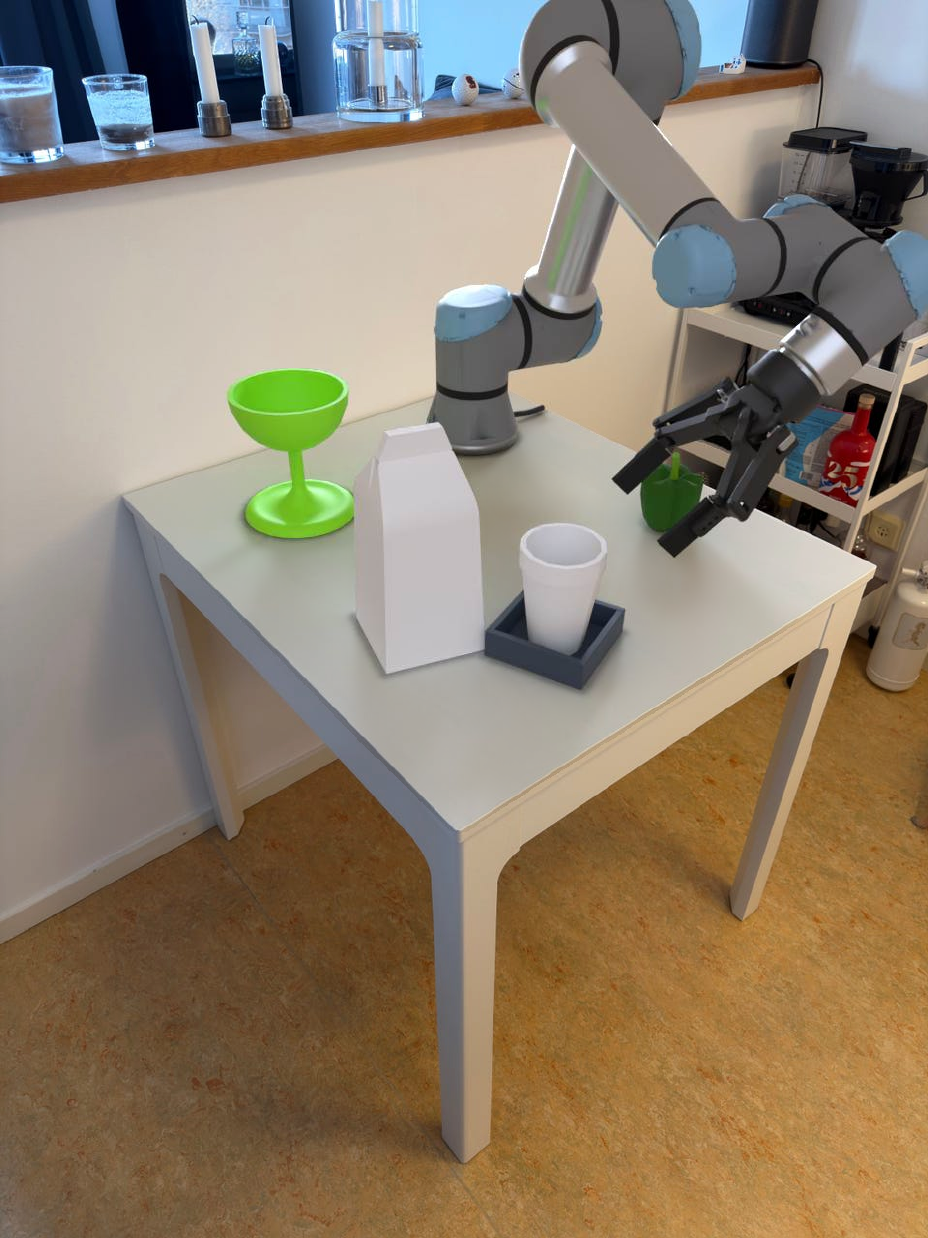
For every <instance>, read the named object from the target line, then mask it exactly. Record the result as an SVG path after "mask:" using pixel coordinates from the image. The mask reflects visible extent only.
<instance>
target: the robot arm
mask: <svg viewBox="0 0 928 1238" xmlns="http://www.w3.org/2000/svg"><path fill="white" fill-rule="evenodd" d="M702 44H703V43H702V34H701V31H700V22H699V18H698V15H697V14H696V10H695V9H694V7H693V4H692V3H691V2H690V0H547V1H546V2H544V4H543V5H541V6H540V7H539V9H538V10H537V11H536V13H535V14H534V15H533V17H532V18H531V20H530V21H529V23H528V24H527V26H526V29H525V31H524V33H523V37H522V40H521V42H520V48H519V53H518V73H519V78H520V83H521V87H522V89H523V93H524V95H525V97H526V99H527V101H528V102H529V105H530V106H531V107H532V109H533V110H534V112H535V114H536V115H538V116H539V118H540V119H541V121H542V122H543V123H544V124H546V125H547V126H548V127H550V128H553V129H559V130H561V131H562V132H563V133H564V135H565V136H566V138H567V139H568V140H569V141H570V142H571V143H572V145H571V149H570V152H569V156H568V159H567V163H566V167H565V170H564V174H563V177H562V181H561V184H560V187H559V191H558V195H557V198H556V203H555V204H554V210H553V212H552V216H551V220H550V223H549V227H548V230H547V234H546V237H545V241H544V245H543V247H542V252H541V256H540V259H539V262H538V264H536V265H534V266H532V267H531V268H530V269H529V270H527V272H526V274H525V275H524V280H523V283H522V287H521V290H520V291H519V292H513V293H511V291H510V290H509V289H507V288H506V287H505V286H502V285H498V284H493V283H492V284H491V283H490V284H489V283H487V284H484V285H481V284H471V285H467V286H463V287H460V288H459V287H458V288H456V289H453V290H451V291H450V292H447V293H446V294H445V295H443V296H442V297H441V299H440V300H439V301H438V303H437V305H436V309H435V319H434V325H433V326H434V327H433V334H434V344H435V345H434V346H435V354H434V355H435V393H434V397H433V400H432V403H431V406H430V409H429V412H428V415H427V418H426V422H425V424H430V423H436V422H439V423H440V425H441V426H442V427H443V428H444V431H445V433H446V435H447V437H448V440H449V442H450V444H451V447H452V451H453V452H454V453H455V455H460V456H484V455H485V456H486V455H491V454H495V453H499V452H502V451H504V450H506V449H508V448H510V447H512V446H513V445H514V444H515V443H516V441H517V438H518V425H517V424H518V423H517V419H516V418H519V417H526V416H527V417H528V416H532V415H535V414H538V413H541V412H543V411H545V410H546V406H545V405H544V404H540V405H538V406H535V407H533V408H530V409H525V410H516V411H514V409H513V406H512V402H511V399H510V396H509V374H510V372H513V371H519V370H526V369H531V368H538V367H543V366H544V367H545V366H551V365H557V364H564V363H565V364H566V363H569V362H572V361H574V360H578V359H580V358H581V359H582V358H584V357H585V356H587V355H588V354H589V353H590V352H592V350H593V349H594V348H595V346H596V345H597V343H598V341H599V339H600V336H601V333H602V328H603V320H602V319H601V316H602V315H603V306H602V305H603V304H602V302H601V299H600V297H599V295H598V289H597V287H596V285H595V283H594V282H593V281H594V277H595V275H596V272H597V269H598V266H599V264H600V261H601V257H602V255H603V252H604V249H605V245H606V242H607V240H608V237H609V234H610V231H611V228H612V226H613V222H614V220H615V217H616V214H617V211H618V208H619V205H620V206H621V208H622V209H623V211H624V212H625V214H627V216H628V217H629V218H630V219H631V221H632V222H633V223H634V225H635V226H636V227H637V228H638V230H639V231H640V232H641V234H642V235H643V236H644V237H645V239H646V240H647V241H648V242H649V244H650V245H651V246H652V247H653V249H654V251H653V255H652V261H651V275H652V280H654V281H655V283H656V286H655V287H656V288H655V290H656V293H657V294H658V296H659V298H660V299H661V300H662V301H663V302H664V303H665V304H666V305H668V306H670V307H672V308H675V309H694V308H698V309H704V308H713V307H715V306H719V305H724V304H729V303H735V302H739V301H745V300H751V299H757V298H766V297H771V296H776V295H777V296H778V295H783V294H788V293H796V292H798V293H801V294H803V295H804V296H806V298H808V299H809V300H810V301H812V302H813V303H814V304H816V307H815V308H814V309H813V310H812V311H811V312H810V313H809V314H808V315H807V317H805V318H804V319H803V320H802V321H801V322H800V323H799V324H797V325H796V326H795V327H794V328H793V329H792V330H791V331H790V332H789V333H788V334H786V335H785V336H784V337H783V338H782V339H781V340H780V341H779V348H780V350H778V349H777V348H774V349H770V350H768V351H767V352H766V353H765V354H764V355H763V356H762V357H760V359H758V361H756V363H754V364H753V365H752V366H751V367H749V369H748V370H747V372H746V377H747V383H746V384H745V385H743V386H742V387H739V386H738V385H737V384H736V382H734V380H733V378H731V377H730V376H728V375H727V376H724V377H723V378H722V379H720V380H719V381H718V382H717V383H716V384H715V385H713V386H711V388H709V389H707V390H706V391H704V392H701V393H700V394H698V395H696V396H694V397H693V398H691V399H689V400H687V401H685V402H683V403H681V404H679V405H678V406H676V407H674V408H672V409H670V410H668V411H667V412H664V413H663V414H661V415H659V416H657V417H656V418H654V420H652V423H651V424H652V427H654V430H655V431H654V432H653V437H652V438H651V439H650V440H649V441H648V442H647V443H646V444H645V445H644V446H643V447H641V448H640V449H639V450H638V452H636V454H635V455H634V456H633V458H632V459H631V460H630V461H628V462H627V463H626V464H625V465H624V466H623V467H621V469H620V470H619V471H618V472H617V473H615V474H614V475H613V476H612V477H611V480H612V482H613V483H614V484H615V485H616V486H617V487H618V488H620V490H621V491H623V493H625V494H626V496H628V495H629V494H631V493H632V492H633V491H634V490H635V489H636V488H638V486H640V485H641V482H642V481H643V480H645V479H646V478H647V477H648V476H649V475H650V474H651V473H652V472H653V471H654V470H655V469H657V468H658V467H659V466H660V465H661V464H662V463H663V464H664V463H665V462H666V461H667V460H668V459H669V458H670V457H671V456H672V454H673V453H674V451H675V448H678V447H682V446H684V445H687V444H691V443H694V442H697V441H701V440H704V439H708V438H710V437H714V436H720V437H726V439H728V441H730V442H731V451H730V453H729V457H728V459H727V462H726V464H725V467H724V469H723V472H722V475H721V477H720V480H719V482H718V484H717V488H716V490H715V492H714V494H708V497H707V496H705V497H703V498H702V500H700V502H699V503H698V504H697V505H696V506H695V507H694V508H692V509H691V510H690V511H689V512H688V513H687V514H686V515H685V516H683V517H682V518H681V519H680V520H679V521H678V522H677V523H676V524H674V525H673V526H672V527H671V528H670V529H667V530H666V531H664V533H663V534H661V536H660V537H658V538H657V539H656V540H655V541H656V542H657V544H658V545H659V546H660V547H661V548H662V549H663V550H664V551H666V552H667V553H668V555H670V556H671V557H672V558H673V559H675V558H676V557H677V556H679V555H680V554H681V553H682V552H683V551H685V549H687V548H688V547H689V546H690V545H692V543H693V542H695V541H696V540H697V539H698V538H702V537H704V536H706V535H707V534H708V533H710V532H711V531H712V530H713V529H714V528H715V527H717V526H718V525H719V524H720V523H721V522H722V521H724V519H726V518H733V519H737V520H738V522H740V523H744V522H746V521H747V520H748V519H749V518H750V516H752V513H753V512H754V510H755V508H756V507H757V505H758V503H759V502H760V500H761V498H762V497H763V495H764V494H765V492H766V491H767V488H768V487H769V485H770V484H771V482H772V480H773V479H774V477H775V475H776V474H777V472H778V470H779V469H780V467H781V465H782V464H783V462H784V460H786V458H788V456H789V455H790V454H791V453H792V452H793V451H794V450H795V449H796V448H797V447H798V446H799V444H800V440H799V439H798V437H796V435H795V434H794V433H793V431H792V430H791V429H790V428H789V427H788V424H790V425H793V426H796V425H797V426H798V425H799V424H800V423H802V421H804V419H806V418H807V417H808V416H809V415H811V414H812V413H813V412H814V411H815V410H816V409H817V408H818V407H820V406H821V405H822V401H823V396H828V397H832V396H833V395H835V393H836V392H837V391H838V390H839V389H840V388H842V387H843V386H844V385H845V384H846V383H847V382H848V381H849V380H851V379H852V378H853V377H854V376H855V375H856V374H857V373H858V372H859V371H861V369H862V368H863V367H864V366H865V365H866V364H868V363H869V362H870V360H871V359H873V358H874V357H875V356H876V355H877V354H878V353H880V352H881V351H882V350H883V349H885V347H886V346H888V345H889V344H890V343H891V342H893V341H894V340H895V339H896V338H897V337H898V336H900V334H902V333H903V332H904V331H905V330H906V329H908V328H909V327H910V326H911V325H912V324H914V323H915V322H916V321H919V320H920V319H921V318H922V316H923V315H924V314H925V313H926V312H927V311H928V239H927V238H926V237H924V236H923V235H921V234H920V233H918V232H913V231H911V230H908V229H903V230H900V231H897V232H896V233H895V234H894V235H892V237H890V238H887V239H886V240H885V241H884V242H883V243H880V242H878V241H877V240H875V239H872V238H871V237H869V236H868V235H867V234H865V233H864V232H862V231H861V230H860V229H858V227H856V226H854V225H853V224H852V223H850V222H849V221H847V220H846V219H845V218H843V217H842V216H840V215H839V214H838V213H836V211H835V210H833V208H832V207H831V206H828V205H826V204H825V203H823V202H820V201H818V200H816V199H814V198H812V197H810V196H809V195H807V194H806V195H805V194H801V193H800V194H799V193H797V194H792V195H787V196H786V197H785V198H783V200H782V201H780V202H777V203H776V202H775V204H773V205H772V206H771V207H770V208H769V209H768V210H767V212H766V213H765V214H764V216H763V217H757V218H756V217H755V218H746V219H737V218H736V217H735V216H733V215H732V213H731V212H730V211H729V209H727V207H726V206H725V205H724V204H723V203H722V202H721V200H720V199H719V198H718V197H717V196H716V195H715V194H714V192H712V190H711V189H710V188H709V186H707V184H706V183H705V182H704V180H702V179H701V177H700V176H699V175H698V174H697V172H695V170H694V169H693V168H692V167H691V166H690V164H689V163H688V162H687V161H686V159H685V158H684V157H683V156H682V155H681V154H680V152H679V151H678V150H677V149H676V148H675V147H674V145H673V144H672V143H671V142H670V141H669V140H668V138H667V137H666V136H665V135H664V133H663V132H662V131H661V130H660V129H659V128H658V126H659V125H660V122H661V119H662V116H663V114H664V110H665V108H666V105H667V103H668V101H669V102H674V101H677V100H679V99H681V98H682V97H683V96H685V95H687V94H688V93H689V92H690V90H691V89H692V88H693V86H694V84H695V82H696V80H697V77H698V74H699V72H700V66H701V61H702V60H701V59H702V49H703V48H702V47H703V45H702Z"/></svg>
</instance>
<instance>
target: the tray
mask: <svg viewBox="0 0 928 1238" xmlns="http://www.w3.org/2000/svg"><path fill="white" fill-rule="evenodd" d="M625 614H626V608H624V607H621V606H618V605H615V604H612V603H608V602H606V601H602V600H600V599H596V598H595V601H594V605H593V609H592V612H591V616H590V619H589V623H588V626H587V630H586V634H585V637H584V641H583V642H582V646H581V647H580V649H579V650H578V651H577V652H575V653H573V654H571V655H566V654H563V653H561V652H558V651H555V650H552V649H549V648H546V647H543V646H540V645H538V644H535V643H532V642H529V639H528V631H527V620H526V609H525V599H524V588H523V589H522V590H521V591H520V592H519V593H518V595H517V596H516V597H514V599H513V600H512V601H511V602H510V603H509V604H508V606H507V607H505V608H504V610H503V611H502V612H501V613H500V614H499V615H498V616H497V618H495V619H494V621H492V623H491V624H490V625H489V626H488V627H487V628H486V629H485V630H484V639H485V650H484V656H486V657H489V658H491V659H494V660H497V661H500V662H503V663H506V664H508V665H511V666H514V667H516V668H519V669H521V670H525V671H528V672H531V673H533V674H536V675H538V676H542V677H543V678H547V679H550V680H553V681H555V682H557V683H560V684H564V685H566V686H569V687H571V688H573V689H574V688H575V689H577V690H579V691H581V690H582V689H583V688H584V686H585V685H586V684H587V682H588V681H589V680H590V678H591V677H592V676H593V674H594V672H595V671H596V670H597V669H598V667H599V665H600V664H601V663H602V661H603V660H604V658H605V657H606V656H607V654H608V653H609V652H610V650H611V649H612V647H614V645H615V643H616V642H617V640H618V639H619V637H620V636H621V635H622V633H623V630H624V621H625Z"/></svg>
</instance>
